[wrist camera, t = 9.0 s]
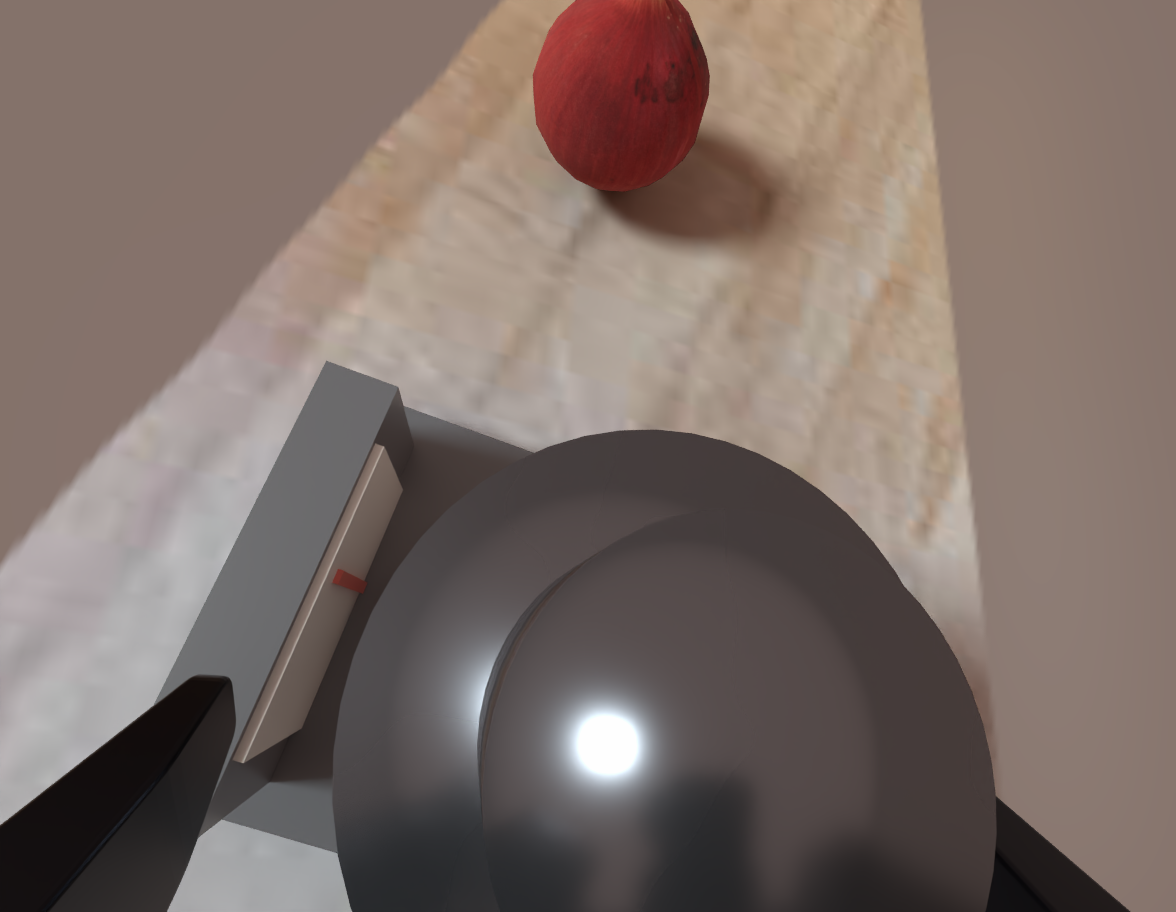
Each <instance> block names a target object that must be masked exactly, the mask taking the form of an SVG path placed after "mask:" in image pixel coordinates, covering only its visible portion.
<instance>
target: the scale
mask: <svg viewBox="0 0 1176 912" xmlns="http://www.w3.org/2000/svg"><path fill="white" fill-rule="evenodd" d="M531 454H534V453H532V452H530V451H527V450H524V449H521V448H519V447H516V446H513V445H510V444H508V443H505V442H502V441H499V440H496V439H494V438H491V437H488V436H485V435H483V434H480V433H477V432H474V431H472V430H469V429H466V428H463V427H460V426H458V425H455V424H452V423H449V422H447V421H444V420H441V419H438V418H436V417H433V416H430V415H427V414H424V413H422V412H419V411H416V410H413V409H411V408H408V407H405V406H403V402H402V399H401V395H400V391H399V388H398V387H397V386H394V385H391V384H389V383H386V382H383V381H380V380H378V379H375V378H372V377H369V376H367V375H364V374H361V373H358V372H356V371H353V370H350V369H347V368H345V367H342V366H339V365H336V364H334V363H331V362H328V361H326V363H325V365H324V367H323V369H322V371H321V373H320V375H319V377H318V379H317V381H316V383H315V385H314V387H313V389H312V391H311V393H310V395H309V397H308V399H307V401H306V403H305V405H304V407H303V409H302V411H301V413H300V415H299V417H298V419H297V421H296V423H295V425H294V427H293V428H292V430H291V432H290V434H289V436H288V438H287V440H286V442H285V444H284V446H283V448H282V450H281V452H280V454H279V456H278V458H277V460H276V462H275V464H274V466H273V468H272V470H271V472H270V474H269V476H268V478H267V480H266V482H265V484H264V486H263V488H262V490H261V492H260V494H259V496H258V498H257V500H256V502H255V504H254V506H253V508H252V510H251V512H250V514H249V516H248V518H247V520H246V522H245V524H244V526H243V528H242V530H241V532H240V534H239V536H238V538H237V540H236V542H235V544H234V546H233V548H232V550H231V552H230V554H229V556H228V558H227V560H226V562H225V564H224V566H223V568H222V570H221V572H220V574H219V576H218V578H217V580H216V582H215V584H214V586H213V588H212V590H211V592H210V594H209V596H208V598H207V600H206V602H205V604H204V606H203V608H202V610H201V612H200V614H199V616H198V618H197V620H196V622H195V624H194V626H193V628H192V630H191V632H190V634H189V636H188V638H187V640H186V642H185V644H184V646H183V648H182V650H181V652H180V654H179V656H178V658H177V660H176V662H175V664H174V666H173V668H172V670H171V672H170V674H169V676H168V678H167V680H166V682H165V684H164V686H163V688H162V690H161V692H160V694H159V696H158V698H157V700H156V702H155V704H156V703H158V702H159V701H160V700H161V699H163V698H164V697H165V696H167V695H168V694H169V693H170V692H172V691H173V690H174V689H176V688H177V687H178V686H179V685H181V684H182V683H183V682H184V681H186V680H187V679H189V678H190V677H192V676H194V675H198V674H206V675H220V676H227V677H229V678H230V679H231V681H232V685H233V693H234V703H235V712H236V728H235V733H234V737H233V740H232V743H231V746H230V748H229V751H228V754H227V757H226V760H225V763H224V765H223V768H222V771H221V774H220V777H219V780H218V782H217V785H216V788H215V791H214V794H213V796H212V799H211V802H210V805H209V808H208V811H207V813H206V816H205V819H204V822H203V825H202V828H201V830H200V833H199V836H198V837H200V836H201V835H202V834H203V833H205V832H206V831H207V830H209V829H210V828H211V827H212V826H214V825H215V824H216V823H218V822H219V821H220V820H221V819H222V820H226V821H229V822H233V823H236V824H239V825H243V826H246V827H250V828H253V829H257V830H260V831H264V832H267V833H270V834H274V835H277V836H281V837H284V838H288V839H291V840H294V841H298V842H301V843H305V844H308V845H312V846H315V847H318V848H322V849H325V850H329V851H332V852H336V853H338V851H337V842H336V833H335V824H334V815H333V806H332V794H333V751H334V744H335V737H336V730H337V724H338V717H339V710H340V703H341V699H342V696H343V692H344V689H345V685H346V681H347V678H348V674H349V670H350V667H351V663H352V659H353V656H354V654H355V651H356V649H357V646H358V644H359V641H360V639H361V637H362V634H363V632H364V629H365V627H366V625H367V622H368V620H369V617H370V615H371V613H372V611H373V609H374V607H375V605H376V604H377V602H378V600H379V598H380V597H381V595H382V593H383V591H384V590H385V588H386V586H387V584H388V583H389V581H390V579H391V577H392V576H393V574H394V572H395V571H396V570H397V568H398V567H399V566H400V564H401V563H402V562H403V560H404V559H405V558H406V556H407V555H408V554H409V552H410V551H411V550H412V548H413V547H414V546H415V544H416V543H417V541H418V540H419V539H420V538H421V537H422V536H423V535H424V533H425V532H426V531H427V530H428V529H429V528H430V527H431V526H432V525H433V524H434V523H435V522H436V521H437V520H438V519H439V518H440V517H441V516H442V515H443V514H444V513H445V512H446V511H447V510H448V509H449V508H450V507H451V506H452V505H453V504H455V503H456V502H457V501H458V500H460V499H461V498H462V497H463V496H465V495H466V494H467V493H468V492H470V491H471V490H472V489H473V488H475V487H476V486H477V485H478V484H480V483H481V482H482V481H484V480H486V479H487V478H489V477H491V476H492V475H494V474H496V473H497V472H499V471H501V470H502V469H504V468H505V467H507V466H509V465H510V464H512V463H514V462H516V461H518V460H520V459H522V458H525V457H527V456H529V455H531ZM155 704H154V705H155Z"/></svg>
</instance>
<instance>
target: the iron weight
mask: <svg viewBox="0 0 1176 912" xmlns="http://www.w3.org/2000/svg"><path fill="white" fill-rule="evenodd" d="M332 806H333V815H334V824H335V833H336V842H337V851H338V858H339V862H340V866H341V870H342V874H343V878H344V882H345V886H346V890H347V895H348V899H349V903H350V907H351V909H352V912H985V911H986V907H987V902H988V897H989V892H990V887H991V881H992V876H993V871H994V859H995V847H996V835H997V831H996V795H995V787H994V779H993V771H992V763H991V757H990V753H989V748H988V744H987V740H986V735H985V731H984V727H983V723H982V720H981V717H980V714H979V711H978V708H977V705H976V703H975V700H974V697H973V694H972V691H971V689H970V686H969V684H968V682H967V680H966V678H965V676H964V673H963V671H962V669H961V667H960V665H959V662H958V660H957V658H956V657H955V655H954V653H953V652H952V650H951V648H950V647H949V645H948V643H947V641H946V640H945V638H944V636H943V635H942V633H941V631H940V630H939V628H938V627H937V626H936V624H935V623H934V622H933V620H932V619H931V618H930V616H929V615H928V614H927V612H926V611H925V609H924V608H923V607H922V605H921V604H920V603H919V602H918V601H917V600H916V599H915V598H914V596H913V595H912V594H911V593H910V592H909V591H908V590H907V589H906V588H905V587H904V586H903V584H902V582H901V581H900V579H899V577H898V575H897V574H896V572H895V571H894V569H893V568H892V567H891V565H890V564H889V562H888V561H887V560H886V558H885V557H884V556H883V554H882V553H881V552H880V550H879V549H878V548H877V546H876V545H875V544H874V542H873V541H872V540H871V539H870V538H869V537H868V536H867V534H866V533H865V532H864V531H863V530H862V529H861V528H860V527H859V526H858V525H857V524H856V523H855V522H854V520H853V519H852V518H851V517H850V516H849V515H848V514H847V513H846V512H845V511H843V510H842V509H841V508H840V507H839V506H838V505H837V504H835V503H834V502H833V501H832V500H831V499H830V498H828V497H827V496H826V495H825V494H824V493H823V492H821V491H820V490H819V489H817V488H816V487H814V486H813V485H812V484H810V483H809V482H807V481H806V480H804V479H803V478H801V477H800V476H798V475H797V474H795V473H794V472H792V471H791V470H789V469H787V468H785V467H783V466H781V465H779V464H778V463H776V462H774V461H772V460H770V459H768V458H766V457H764V456H762V455H760V454H758V453H755V452H753V451H750V450H747V449H745V448H742V447H739V446H736V445H734V444H731V443H728V442H726V441H722V440H717V439H713V438H709V437H705V436H700V435H696V434H692V433H683V432H673V431H664V430H624V431H615V432H608V433H602V434H596V435H589V436H584V437H580V438H577V439H573V440H570V441H567V442H563V443H560V444H556V445H553V446H550V447H547V448H545V449H543V450H540V451H538V452H536V453H534V454H531V455H529V456H527V457H525V458H522V459H520V460H518V461H516V462H514V463H512V464H510V465H509V466H507V467H505V468H504V469H502V470H501V471H499V472H497V473H496V474H494V475H492V476H491V477H489V478H487V479H486V480H484V481H482V482H481V483H480V484H478V485H477V486H476V487H475V488H473V489H472V490H471V491H470V492H468V493H467V494H466V495H465V496H463V497H462V498H461V499H460V500H458V501H457V502H456V503H455V504H453V505H452V506H451V507H450V508H449V509H448V510H447V511H446V512H445V513H444V514H443V515H442V516H441V517H440V518H439V519H438V520H437V521H436V522H435V523H434V524H433V525H432V526H431V527H430V528H429V529H428V530H427V531H426V532H425V533H424V535H423V536H422V537H421V538H420V539H419V540H418V541H417V543H416V544H415V546H414V547H413V548H412V550H411V551H410V552H409V554H408V555H407V556H406V558H405V559H404V560H403V562H402V563H401V564H400V566H399V567H398V568H397V570H396V571H395V572H394V574H393V576H392V577H391V579H390V581H389V583H388V584H387V586H386V588H385V590H384V591H383V593H382V595H381V597H380V598H379V600H378V602H377V604H376V605H375V607H374V609H373V611H372V613H371V615H370V617H369V620H368V622H367V625H366V627H365V629H364V632H363V634H362V637H361V639H360V641H359V644H358V646H357V649H356V651H355V654H354V656H353V659H352V663H351V667H350V670H349V674H348V678H347V681H346V685H345V689H344V692H343V696H342V699H341V703H340V710H339V717H338V724H337V730H336V737H335V744H334V751H333V794H332Z"/></svg>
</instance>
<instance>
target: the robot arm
mask: <svg viewBox="0 0 1176 912" xmlns="http://www.w3.org/2000/svg"><path fill="white" fill-rule="evenodd" d="M235 728H236V712H235V703H234V693H233V685H232V681H231V679H230V678H229V677H227V676H220V675H206V674H198V675H194V676H192V677H190V678H189V679H187V680H186V681H184V682H183V683H182V684H181V685H179V686H178V687H177V688H176V689H174V690H173V691H172V692H170V693H169V694H168V695H167V696H165V697H164V698H163V699H161V700H160V701H159V702H158V703H156V704H155V705H154V706H152V707H151V708H150V709H149V710H147V711H146V712H145V713H143V714H142V715H141V716H140V717H138V718H137V719H136V720H135V721H133V722H132V723H131V724H129V725H128V726H127V727H126V728H124V729H123V730H122V731H120V732H119V733H118V734H117V735H115V736H114V737H113V738H111V739H110V740H109V741H108V742H106V743H105V744H104V745H102V746H101V747H100V748H99V749H97V750H96V751H95V752H94V753H92V754H91V755H90V756H88V757H87V758H86V759H85V760H83V761H82V762H81V763H79V764H78V765H77V766H76V767H74V768H73V769H72V770H70V771H69V772H68V773H67V774H65V775H64V776H63V777H61V778H60V779H59V780H58V781H56V782H55V783H54V784H53V785H51V786H50V787H49V788H47V789H46V790H45V791H44V792H42V793H41V794H40V795H38V796H37V797H36V798H35V799H33V800H32V801H31V802H29V803H28V804H27V805H26V806H24V807H23V808H22V809H20V810H19V811H18V812H17V813H15V814H14V815H13V816H12V817H10V818H9V819H8V820H6V821H5V822H4V823H3V824H1V825H0V912H167V910H168V908H169V906H170V904H171V902H172V900H173V897H174V895H175V893H176V891H177V889H178V887H179V884H180V882H181V880H182V878H183V875H184V873H185V871H186V868H187V866H188V863H189V861H190V858H191V855H192V853H193V850H194V847H195V845H196V842H197V839H198V836H199V833H200V830H201V828H202V825H203V822H204V819H205V816H206V813H207V811H208V808H209V805H210V802H211V799H212V796H213V794H214V791H215V788H216V785H217V782H218V780H219V777H220V774H221V771H222V768H223V765H224V763H225V760H226V757H227V754H228V751H229V748H230V746H231V743H232V740H233V737H234V733H235ZM996 831H997V835H996V847H995V859H994V871H993V876H992V881H991V887H990V892H989V897H988V902H987V907H986V911H985V912H1130V911H1129V910H1128V909H1126V907H1124V906H1123V905H1122V904H1121V903H1120V902H1119V901H1117V900H1116V899H1115V898H1114V897H1112V896H1111V895H1110V894H1109V893H1108V892H1107V891H1106V890H1105V889H1103V888H1102V887H1101V886H1100V885H1099V884H1098V883H1096V882H1095V881H1094V880H1093V879H1092V878H1091V877H1089V876H1088V875H1087V874H1086V873H1085V872H1084V871H1082V870H1081V869H1080V868H1079V867H1078V866H1077V865H1075V864H1074V863H1073V862H1072V861H1070V859H1068V858H1067V857H1066V856H1065V855H1064V854H1062V853H1061V852H1060V851H1059V850H1058V849H1057V848H1056V847H1055V846H1053V845H1052V844H1051V843H1050V842H1049V841H1048V840H1046V839H1045V838H1044V837H1043V836H1042V835H1041V834H1039V833H1038V832H1037V831H1036V830H1035V829H1034V828H1032V827H1031V826H1030V825H1029V824H1028V823H1026V822H1025V821H1024V820H1023V819H1022V818H1021V817H1020V816H1018V815H1017V814H1016V813H1015V812H1014V811H1013V810H1011V809H1010V808H1009V807H1008V806H1007V805H1006V804H1004V803H1003V802H1002V801H1001V800H1000V799H999V798H997V797H996Z"/></svg>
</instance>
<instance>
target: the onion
mask: <svg viewBox="0 0 1176 912" xmlns="http://www.w3.org/2000/svg"><path fill="white" fill-rule="evenodd" d="M709 79H710V75H709V69H708V64H707V58H706V56H705V53H704V50H703V47H702V45H701V42H700V40H699V37H698V35H697V33H696V30H695V28H694V26H693V23H692V20H691V18H690V15H689V13H688V11H687V10H686V9H685V8H684V7H683V5H682V4H681V3H680V2H679V1H678V0H576V1H575V2H574V3H572V4H571V5H570V6H569V7H568V8H567V9H566V10H565V11H564V12H563V13H562V14H561V15H560V16H559V17H558V18H557V19H556V21H555V22H554V24H553V25H552V27H551V28H550V30H549V32H548V34H547V37H546V40H545V42H544V45H543V48H542V50H541V53H540V55H539V58H538V61H537V64H536V67H535V70H534V73H533V91H534V104H535V116H536V125H537V126H538V128H539V130H540V132H541V134H542V136H543V138H544V140H545V142H546V144H547V146H548V148H549V150H550V152H551V153H552V155H553V157H554V158H555V160H556V161H557V162H558V163H559V164H560V165H561V166H562V167H563V168H564V169H565V170H566V171H568V172H569V173H570V174H571V175H572V176H573V177H574V178H575V179H576V180H578V181H581V182H583V183H585V184H587V185H589V186H591V187H593V188H596V189H599V190H610V191H622V192H625V191H629V190H633V189H637V188H640V187H644V186H648V185H650V184H652V183H653V182H655V181H657V180H659V179H661V178H662V177H663V176H665V175H666V174H667V173H668V172H669V171H671V170H672V169H673V168H674V167H675V166H677V165H678V164H679V163H680V162H681V161H683V159H684V158H685V156H686V155H687V153H688V152H689V150H690V149H691V148H692V146H693V145H694V143H695V140H696V137H697V133H698V130H699V126H700V123H701V120H702V116H703V113H704V109H705V106H706V103H707V99H708V96H709Z"/></svg>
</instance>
